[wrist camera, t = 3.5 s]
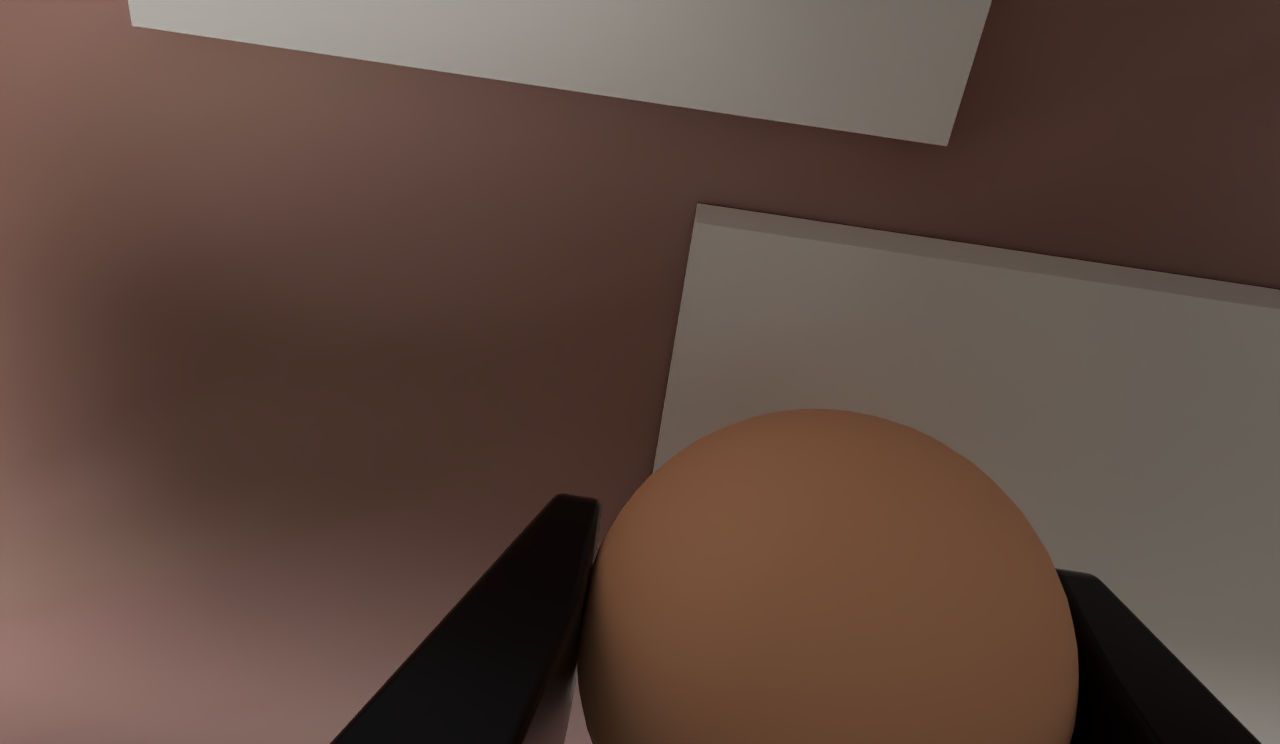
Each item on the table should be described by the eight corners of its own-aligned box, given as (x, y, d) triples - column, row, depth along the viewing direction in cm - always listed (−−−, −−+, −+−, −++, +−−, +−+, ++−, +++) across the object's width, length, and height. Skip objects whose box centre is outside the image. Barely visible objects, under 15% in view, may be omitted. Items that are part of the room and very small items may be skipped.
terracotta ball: (949, 653, 11) (1026, 1058, 8) (591, 597, 11) (521, 977, 8) (1082, 356, 9) (1267, 753, 6) (630, 286, 9) (558, 642, 6)
